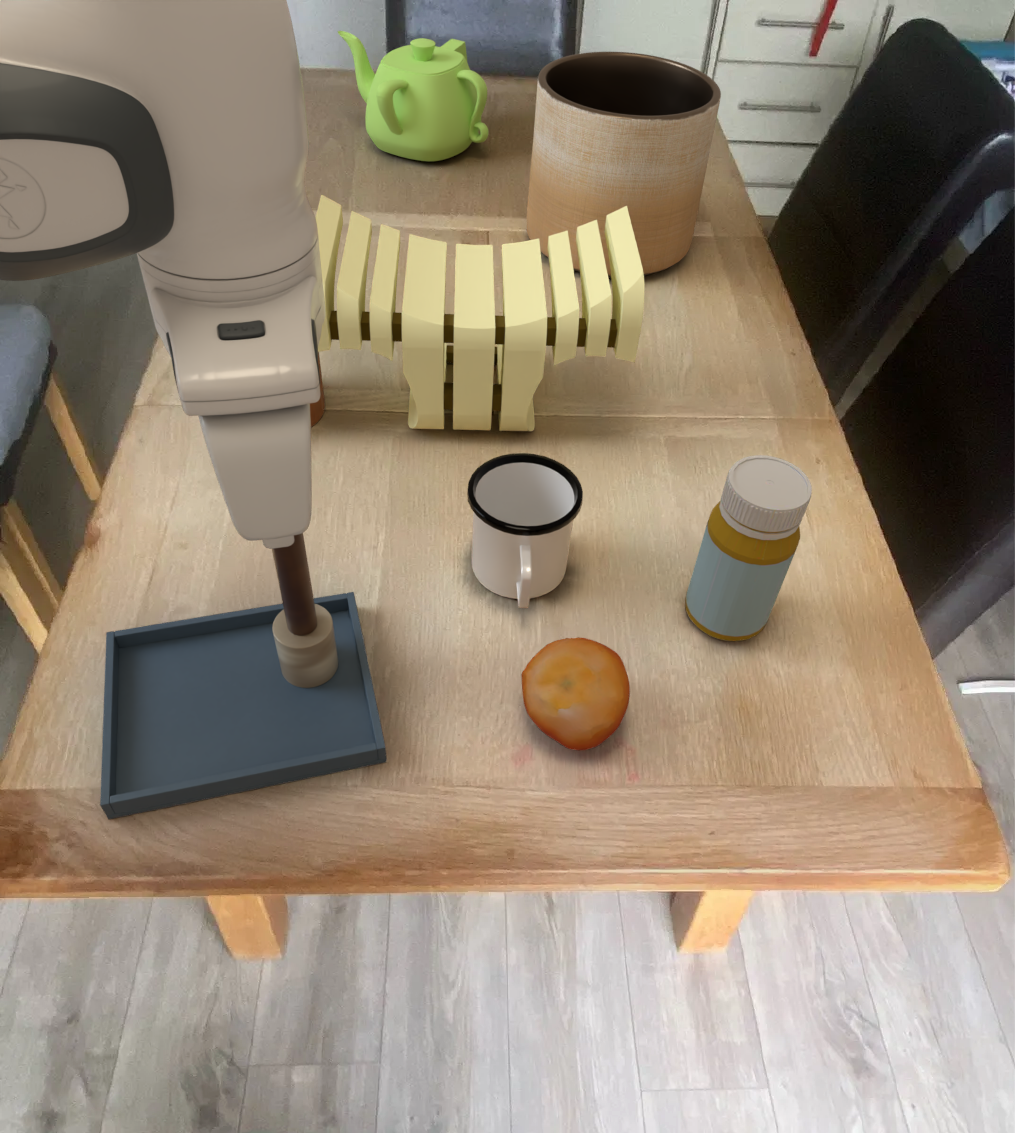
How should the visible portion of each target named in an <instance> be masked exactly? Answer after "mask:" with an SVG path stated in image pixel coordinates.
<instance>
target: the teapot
mask: <svg viewBox="0 0 1015 1133" xmlns="http://www.w3.org/2000/svg"><path fill="white" fill-rule="evenodd" d="M337 34H338V35H339V36H340V37H341V38H342V39H343V40H344V41H345V43H346V45H347V46H348V47H349V49H350V52H351V56H352V58H353V63H354V71H355V80H356V85H357V90H358V92H359V95H360V96H361V98H362V100H363V101H364V102H365V104H366V107H365V118H364V120H365V121H364V122H365V130H366V133H367V135H368V136H369V138H370V139H371V141H372V143H373V144H374V145H375V146H376V148H377V149H379V150H381V151H383V152H385V153H388V154H391V155H394V156H398V157H401V158H405V159H409V160H415V161H419V162H420V161H421V162H438V161H443V160H447V159H450V158H453V157H454V156H457V155H459V154H462V153H463V152H464V151H466V150H467V149H468V148H469V147H470V146H471V144H472V143H476V144H481V143H484V142H486V140H487V139H488V138H489V127H488V126H487V125H486V124H485V123H484V122H482V117H483V116H482V115H483V114H484V111H485V107H486V104H487V100H488V86H487V84H486V81H485V80H484V79H483V77H482V75H480V74H479V73H478V72H476V71H474V70H471V67H470V66H469V63H468V54H467V44H466V41H464V40H460V39H455V38H450V39H449V40H448V41H446V42H444V43H443V44H442V45H441V46H437V45H436V41H434V40H433V39H429V38H423V37H421V38H414V39H412V40H410V42H409V44H407V45H403V46H400V47H397V48H395V49H393V50H391V51H389V52H388V53H386V54H385V55H384V56H383V57H382V59H381V60H380V62H379V64H378V66H377V69H376V72H374V70H373V68H372V65H371V63H370V59H369V57H368V53H367V50H366V48H365V46H364V44H363V42H362V41H361V40H360V39H359V37H357V36H356V35H355V34H352V33H351V32H348V31H344V30H337Z"/></svg>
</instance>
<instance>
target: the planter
mask: <svg viewBox="0 0 1015 1133" xmlns="http://www.w3.org/2000/svg"><path fill="white" fill-rule="evenodd" d="M721 97H722V92H721V89H720V86H719V85H718V84H717V82H716V81H715V80H714V79H713V78H711V77H710V76H709V75H708V74H706V73H704V72H702V71H701V70H699V69H697V68H695V67H692V66H690V65H687V64H685V63H682V62H680V61H677V60H673V59H670V58H665V57H662V56H657V55H651V54H645V53H637V52H627V51H591V52H582V53H575V54H570V55H566V56H563V57H560V58H556V59H554V60H552V61H551V62H549V63H547V64H546V65H545V66H543V67H542V68H541V70H540V71H539V73H538V77H537V86H536V98H535V99H536V100H535V113H534V125H533V135H532V136H533V139H532V150H531V161H530V170H529V171H530V172H529V184H528V194H527V195H528V196H527V206H526V207H527V208H526V233H527V236H528V238H529V240H534V239H539V242H540V251H541V254H543V256H545V257H547V258H548V259H549V256H548V237H549V236H551V235H554V234H557V233H561V232H564V231H567V230H568V236H569V243H570V250H571V257H572V263H573V270H574V272H577V273H580V267H579V259H578V251H577V244H576V234H577V227H579V226H581V225H584V224H587V223H589V222H592V221H594V220H597V223H598V228H599V233H600V238H601V243H602V248H603V254H604V259H605V264H606V269H607V274H608V278H611V269H610V262H609V255H608V249H607V243H606V238H605V233H604V231H605V224H606V216H607V215H608V214H610V213H612V212H615V211H617V210H619V209H621V208H623V207H625V206H627V208H628V212H629V216H630V220H631V224H632V228H633V232H634V236H635V240H636V244H637V248H638V252H639V256H640V260H641V264H642V268H643V273H644V277H645V276H648V275H653V274H656V273H659V272H661V271H664V270H667V269H669V268H670V267H672V266H674V265H675V264H677V263H679V262H680V261H681V260H683V258H684V257H685V256H686V255H687V254H688V252H689V250H690V248H691V245H692V242H693V239H694V234H695V229H696V224H697V219H698V213H699V209H700V204H701V200H702V194H703V188H704V184H705V179H706V178H705V177H706V173H707V167H708V162H709V157H710V154H711V147H712V144H713V137H714V132H715V127H716V123H717V118H718V114H719V108H720V103H721Z"/></svg>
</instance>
